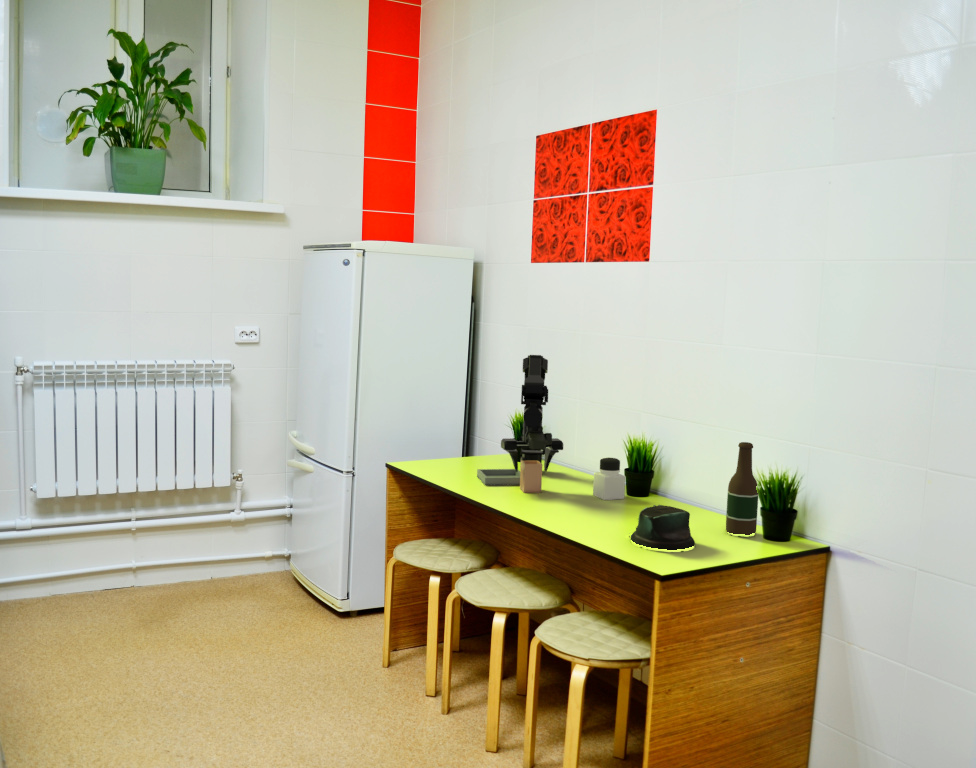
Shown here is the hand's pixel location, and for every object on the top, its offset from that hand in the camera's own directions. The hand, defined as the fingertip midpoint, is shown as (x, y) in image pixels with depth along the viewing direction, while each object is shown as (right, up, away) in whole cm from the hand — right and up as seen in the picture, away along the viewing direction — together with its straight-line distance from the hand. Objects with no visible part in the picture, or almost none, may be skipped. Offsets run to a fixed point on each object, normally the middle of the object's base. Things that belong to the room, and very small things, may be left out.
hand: (531, 471), depth 264 cm
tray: (-9, -4, +14) cm, 17 cm away
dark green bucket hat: (+30, -13, -54) cm, 63 cm away
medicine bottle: (+23, -8, -5) cm, 25 cm away
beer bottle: (+52, -12, -43) cm, 69 cm away
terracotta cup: (0, -6, +1) cm, 6 cm away
